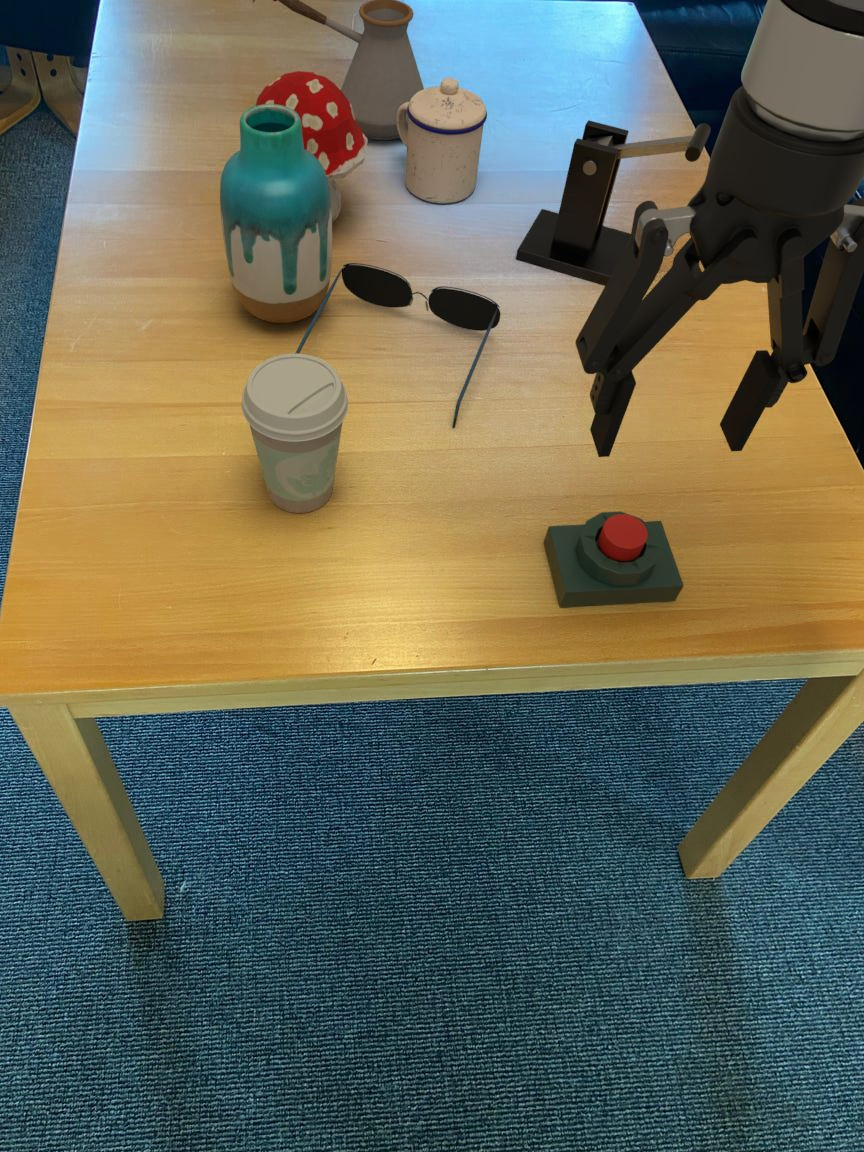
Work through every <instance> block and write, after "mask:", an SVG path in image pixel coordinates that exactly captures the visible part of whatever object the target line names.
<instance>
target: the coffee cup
mask: <svg viewBox="0 0 864 1152" xmlns="http://www.w3.org/2000/svg"><path fill="white" fill-rule="evenodd" d="M241 411H242V415H243V417H244V419H245V420H246V422H247V424H248V426H249V428H250V432H251V436H252V439H253V444H254V447H255V450H256V454H257V458H258V462H259V466H260V470H261V472H262V476H263V479H264V483H265V486H266V490H267V494H268V497H269V499H270V501H271V502H272V503H273V504H274V505H275V506H276V507H278V508H280V510H284V511H286V512H290V513H293V514H294V513H295V514H305V513H311V512H313V511H317V510H318V509H320V508H321V507H323V506H325V504H326V503H328V501H329V500H330V498H331V496H332V494H333V489H334V480H335V475H336V468H337V461H338V456H339V448H340V442H341V435H342V429H343V421H344V420H345V418H346V416H347V414H348V411H349V397H348V393H347V389H346V387H345V384H344V383H343V382H342V380H341V376H340V375H339V373H338V371H337V369H335V368H334V367H333V365H332V364H330V363H329V362H327V361H326V360H324V359H322V358H320V357H317V356H314V355H311V354H307V353H299V354H297V353H296V352H294V353H283V354H277V355H275V356H272V357H269V358H267V359H264V360H263V361H261V362H260V363H259V364H257V365H256V366H255V367H254V368H253V369H252V371H251V372H250V373H249V375H248V377H247V380H246V384H245V386H244V387H243V391H242V396H241Z"/></svg>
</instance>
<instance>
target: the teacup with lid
mask: <svg viewBox="0 0 864 1152" xmlns="http://www.w3.org/2000/svg"><path fill="white" fill-rule="evenodd" d="M406 111H407V114H408V116H409V122H408V129H407V126H406ZM487 119H488V111H487V106H486V105H485V103H484V100H482V99H481V97H480V96H479V95H477V94H476V93H474V92H472V91H471V90H467V89H465V88H461V87H460V84H459V82H458V80H457V79H455V78H453V77H445V78H443V79H442V80H441V82H440V85H436V86H430V87H426V88H424V89H423V90H421V91H419V92H417V93H416V94H415V95H414V96H413V97H412V98H411V100H410V102H406V103H404V104H402V105H401V106H400V107H399V109H398V111H397V118H396V121H397V129H398V132H399V135H400V138H399V139H400V140H401V142H402V144H404V146H405V147H406V155H405V171H404V173H405V174H404V183H405V187H406V188H407V189H408V191H409V192H410V193H411V194H412V195H414V196H415V197H416V198H418V199H420V200H423V201H426V202H428V203H434V204H453V203H457V202H461V201H463V200H465V199H467V198H468V197H470V196H471V195H472V193H473V192H475V191H474V190H475V188H476V184H477V179H478V178H477V177H478V170H479V162H480V156H481V155H480V154H481V147H482V140H483V133H484V126H485V124H486V121H487Z"/></svg>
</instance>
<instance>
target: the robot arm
mask: <svg viewBox="0 0 864 1152" xmlns="http://www.w3.org/2000/svg"><path fill="white" fill-rule="evenodd" d="M740 74H741V75H740V76H741V77H740V79H741V80H740V81H741V83H742V85H740V87H738V88H737V89H736V90H735V91H734V92H733V95H732V96H731V99H730V101H729V105H728V107H727V109H726V113H725V116H724V118H723V121H722V124H721V126H720V129H719V132H718V134H717V138H716V140H715V143H714V146H713V149H712V152H711V155H710V158H709V161H708V162H709V163H708V167H707V172H706V176H705V179H704V182H703V184H702V185H701V187H700V188H699V190H698V191H697V192H696V193H695V194H694V196H692V197H691V199H690V200H689V202H688V203H687V205H686V206H678V207H672V208H665V209H664V208H663V209H659V208H658V206H657V204H656V202H654V201H652V200H645V201H642V202H641V203H640V204H638V205H637V207H636V208H635V211H634V215H633V221H632V226H631V232H630V234H631V237H630V241H629V243H628V245H627V247H626V248H625V250H624V252H623V254H622V256H621V258H620V260H619V261H618V263H617V265H616V267H615V269H614V271H613V272H612V274H611V276H610V278H609V280H608V282H607V284H606V285H604V288H603V289H602V291H601V293H600V294H599V297H598V298H597V300H596V302H595V304H594V306H593V308H592V310H591V311H590V313H589V315H588V317H587V319H586V320H585V322H584V324H583V326H582V328H581V330H580V332H579V333H578V335H577V337H576V339H575V343H574V344H575V348H576V350H577V354H578V356H579V359H580V362H581V366H582V368H583V369H582V370H583V371H584V373H585V374H588V375H594V379H593V383H592V386H591V388H590V392H589V399H590V402H591V405H592V408H593V411H594V416H593V419H592V422H591V425H590V428H589V431H590V434H591V437H592V441H593V443H594V448H595V450H596V453H597V456H598V458H606V457H607V458H608V457H611V456H610V455H611V453H612V450H613V447H614V445H615V442H616V439H617V436H618V434H619V431H620V428H621V426H622V422H623V421H624V417H625V416H626V412H627V409H628V407H629V404H630V402H631V400H632V396H633V393H634V390H635V387H636V385H637V381H636V378H635V376H634V373H633V370H634V369H635V368H636V367H637V366H638V365H639V364H640V363H641V361H642V360H643V359H644V358H645V357H647V355H648V354H649V353H651V351H652V350H653V349H654V348H655V347H656V346H657V345H658V343H660V341H661V340H663V338H664V337H665V336H666V335H667V334H668V333H669V332H670V331H671V330H672V328H674V327H675V326H676V324H677V323H679V322H680V320H681V319H682V318H683V317H684V316H685V315H686V313H688V312H689V311H690V310H691V309H692V307H694V305H695V304H696V303H697V302H698V301H706V300H707V299H709V297H711V296H712V294H713V293H714V292H716V291H717V289H718V288H719V287H720V286H721V285H732V284H736V283H740V282H744V281H747V282H751V283H756V284H766V292H767V306H768V308H767V309H768V322H769V336H770V348H771V350H772V352H771V353H770V352H769V351H768V350H767V349H766V350H765V349H762V350H756V351H755V353H754V354H753V356H752V359H751V361H750V362H749V364H748V367H747V368H746V370H745V372H744V375H743V376H742V378H741V381H740V382H739V384H738V387H737V388H736V391H735V393H734V394H733V396H732V398H731V400H730V403H729V405H728V407H727V408H726V410H725V413H724V414H723V417H722V419H721V420H720V423H719V426H720V429H721V431H722V433H723V435H724V438H725V440H726V443H727V445H728V448H729V450H730V452H743V449H744V447H745V446H746V443H747V442H748V440H749V438H750V437H751V435H752V433H753V431H754V429H755V427H756V425H757V423H758V422H759V420H760V418H761V416H762V414H763V412H764V411H765V409H766V408H768V409H769V408H772V407H774V406H775V405H776V404H777V403H778V401H779V400H780V398H781V396H782V394H783V393H784V390H785V389H786V387H787V386H788V384H789V383H790V384H797V383H799V382H801V381H803V380H804V379H805V378H806V377H807V376H808V369H807V368H806V366H807V365H810V364H813V363H814V364H815V365H816V366H817V367H824V366H827V365H828V364H830V363H831V362H832V361H833V360H834V359H835V357H836V354H837V351H838V348H839V346H840V343H841V339H842V336H843V333H844V330H845V328H846V324H847V321H848V318H849V316H850V312H851V311H852V307H853V304H854V301H855V298H856V294H857V292H858V289H859V286H860V283H861V279H862V277H863V275H864V196H862V197H860V198H857V199H855V200H854V201H853V202H852V203H851V204H848V203H849V202H850V201H851V200H852V199H853V197H854V196H855V195H856V193H857V191H858V189H859V187H860V185H861V183H862V181H863V179H864V0H766V3H765V6H764V9H763V12H762V15H761V18H760V20H759V23H758V24H757V28H756V31H755V34H754V37H753V39H752V43H751V45H750V48H749V50H748V53H747V56H746V59H745V61H744V64H743V68H742V69H741V73H740ZM685 234H686V235H687V234H689V236H690V237H689V239H688V240H687V241H686V242H685V243H684V245H683V246H682V247H681V248H680V249H679V250H678V251H677V253H675V255H674V257H673V260H672V264H671V267H670V268H669V269H668V270H667V271H666V273H665V274H664V275H663V276H662V277H661V278H660V280H659V281H658V282H657V283H656V284H655V285H654V286H653V287H652V288H651V286H652V285H653V283H654V281H655V279H656V277H657V275H658V274H659V271H660V270H661V267H662V264H663V262H664V258H665V257H670V256H672V254H673V253H674V251H675V249H674V247H675V245H676V244H677V241H678V240H679V239H680V238H681V237H682V236H684V235H685ZM829 237H830V238H829ZM828 238H829V240H828V244H827V246H826V250H825V253H824V257H823V260H822V263H821V267H820V271H819V273H818V278H817V280H816V281H817V282H816V285H815V288H814V292H813V296H812V298H811V302H810V306H809V309H808V313H807V316H806V320H805V323H804V327H803V297H802V295H803V294H802V292H803V291H804V290H805V257H806V256H807V255H809V254H810V253H811V252H812V251H813V250H815V249H816V248H817V247H819V246H820V245H821V244H823V242H825V241H826V240H827V239H828ZM700 263H701V265H702V267H700ZM702 268H703V269H704V270H702ZM650 288H651V290H650V291H649V289H650ZM648 291H649V292H648ZM647 292H648V293H647Z"/></svg>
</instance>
